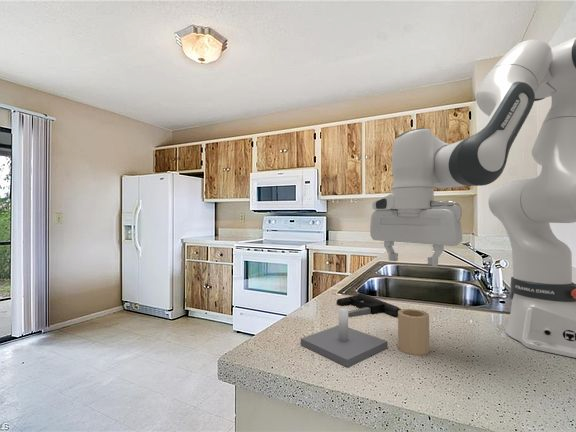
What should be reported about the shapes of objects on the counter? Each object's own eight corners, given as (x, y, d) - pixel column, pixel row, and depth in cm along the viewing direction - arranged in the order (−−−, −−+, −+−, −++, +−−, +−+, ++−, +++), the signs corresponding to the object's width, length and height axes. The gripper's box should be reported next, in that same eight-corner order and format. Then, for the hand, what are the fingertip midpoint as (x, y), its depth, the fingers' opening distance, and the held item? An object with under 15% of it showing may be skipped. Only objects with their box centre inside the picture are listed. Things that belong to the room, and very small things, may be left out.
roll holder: (387, 347, 70) (387, 310, 70) (347, 367, 61) (347, 324, 61) (340, 330, 81) (340, 298, 81) (300, 344, 72) (300, 308, 72)
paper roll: (434, 349, 69) (434, 313, 69) (420, 357, 65) (419, 319, 65) (407, 340, 74) (407, 307, 74) (392, 347, 70) (392, 312, 70)
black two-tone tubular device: (360, 316, 86) (405, 306, 92) (325, 298, 104) (364, 291, 110) (361, 328, 86) (406, 317, 92) (325, 308, 104) (364, 300, 111)
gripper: (467, 200, 63) (467, 267, 63) (381, 203, 79) (381, 257, 79) (454, 199, 59) (454, 271, 59) (366, 202, 75) (366, 259, 75)
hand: (411, 263), depth 69 cm, fingers open, 8 cm apart
